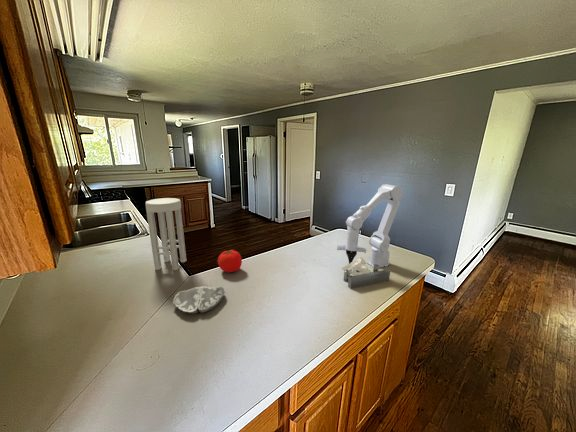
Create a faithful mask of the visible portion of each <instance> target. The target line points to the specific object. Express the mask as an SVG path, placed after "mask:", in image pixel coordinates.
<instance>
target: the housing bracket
mask: <svg viewBox="0 0 576 432" xmlns="http://www.w3.org/2000/svg"><path fill="white" fill-rule="evenodd" d="M390 277H391V270H389V269H382V270H379V265H376V264H375V265H374V267H373V269H372V272H371V273H366V274H361V275H356V276H354V275H352V276H350V275H349V270H343V281H344V282H346V283H348V284H347V285H348V286H347V287H348V288H349V289H351V290H352V289H357V288H361V287H366V286H370V285H375V284H378V283H379V282H380V283H384V281H385V282H389V281H390ZM388 280H389V281H388ZM380 283H379V284H380Z"/></svg>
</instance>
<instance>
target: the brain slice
mask: <svg viewBox="0 0 576 432" xmlns="http://www.w3.org/2000/svg"><path fill="white" fill-rule="evenodd" d="M225 293H226V292H225V289H224V287H222V286H215V287H210V286H204V285H202V286H195V287H191V288H189V289H187V290H186V289H184V290H180V291H178V292H177V293H176V294H175V295H174V298H173V299H172V304H173V305H174V306H175V308H178V310H179V311H181V312H183V313H188V314H198V313H201V314H203V313H206V312H208V311H211V310H212V309H213V308H214V307H216V306H217V305H218V304H219V303H220V302H221V300H222V299H223V298H224V294H225Z"/></svg>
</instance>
